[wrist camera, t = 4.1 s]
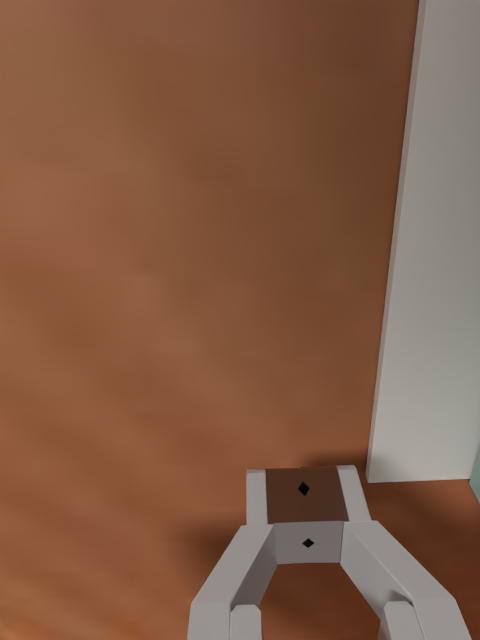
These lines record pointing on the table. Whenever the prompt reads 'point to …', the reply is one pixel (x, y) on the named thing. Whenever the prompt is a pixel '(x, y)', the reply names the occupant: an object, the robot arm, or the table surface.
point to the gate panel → (476, 478)
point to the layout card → (434, 264)
